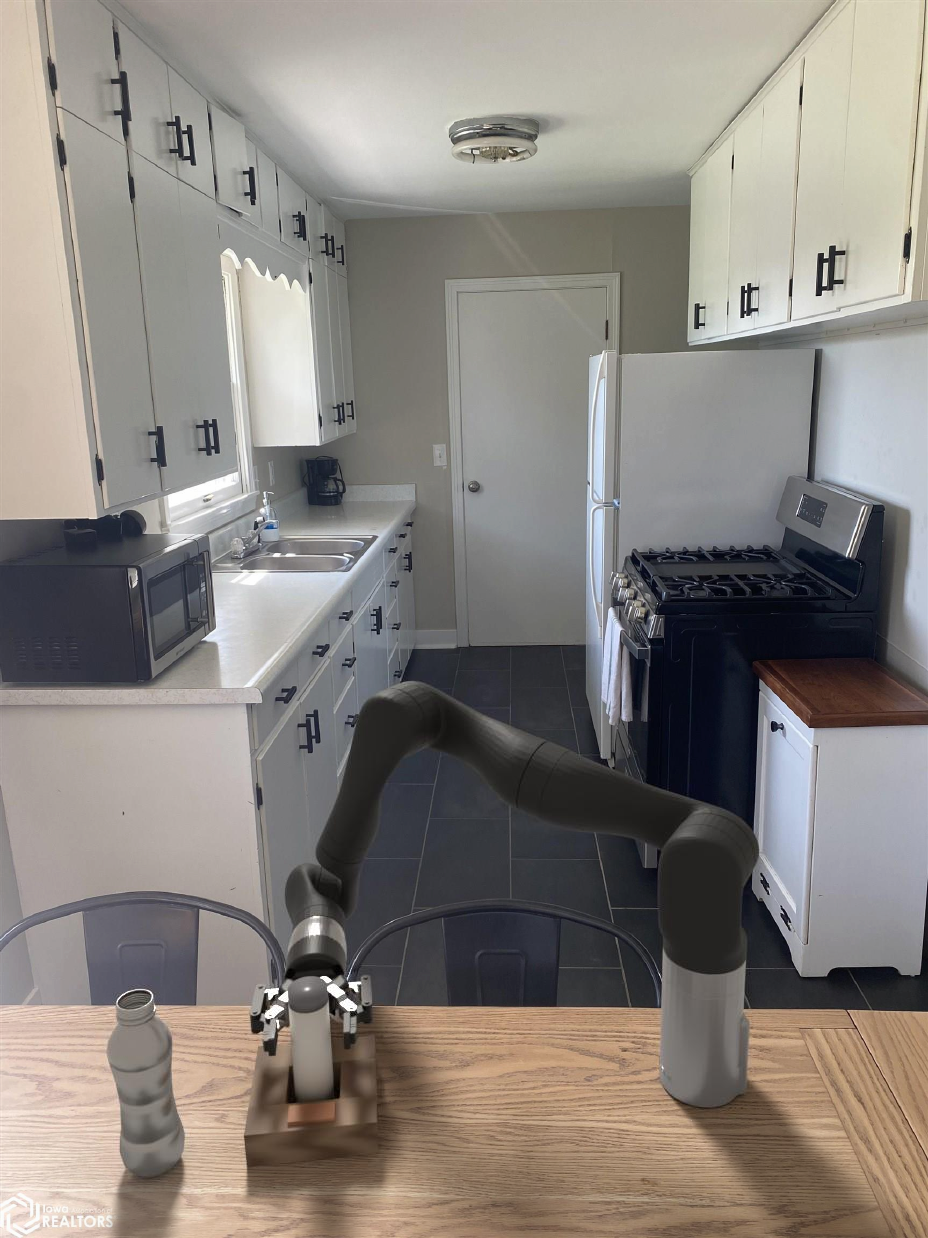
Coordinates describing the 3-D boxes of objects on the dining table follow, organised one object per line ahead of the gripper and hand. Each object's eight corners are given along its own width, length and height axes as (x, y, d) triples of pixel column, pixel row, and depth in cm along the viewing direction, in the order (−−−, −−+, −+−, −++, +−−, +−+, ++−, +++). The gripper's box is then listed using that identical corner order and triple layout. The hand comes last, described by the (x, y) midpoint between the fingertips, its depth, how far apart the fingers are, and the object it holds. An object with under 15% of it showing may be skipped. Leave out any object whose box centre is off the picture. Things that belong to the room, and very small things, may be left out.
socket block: (376, 1064, 114) (374, 1032, 113) (378, 1153, 100) (376, 1119, 99) (260, 1075, 113) (257, 1043, 112) (246, 1167, 99) (243, 1132, 98)
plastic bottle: (168, 1191, 96) (148, 1023, 92) (109, 1182, 98) (86, 1016, 93) (197, 1143, 102) (180, 984, 98) (142, 1135, 104) (122, 977, 99)
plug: (335, 1095, 109) (328, 974, 105) (334, 1123, 105) (326, 998, 101) (298, 1099, 108) (288, 978, 105) (295, 1127, 104) (285, 1002, 101)
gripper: (257, 937, 116) (240, 1022, 101) (371, 928, 118) (373, 1010, 102) (261, 990, 118) (246, 1081, 102) (374, 980, 119) (376, 1069, 104)
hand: (309, 1046), depth 102 cm, fingers open, 8 cm apart
